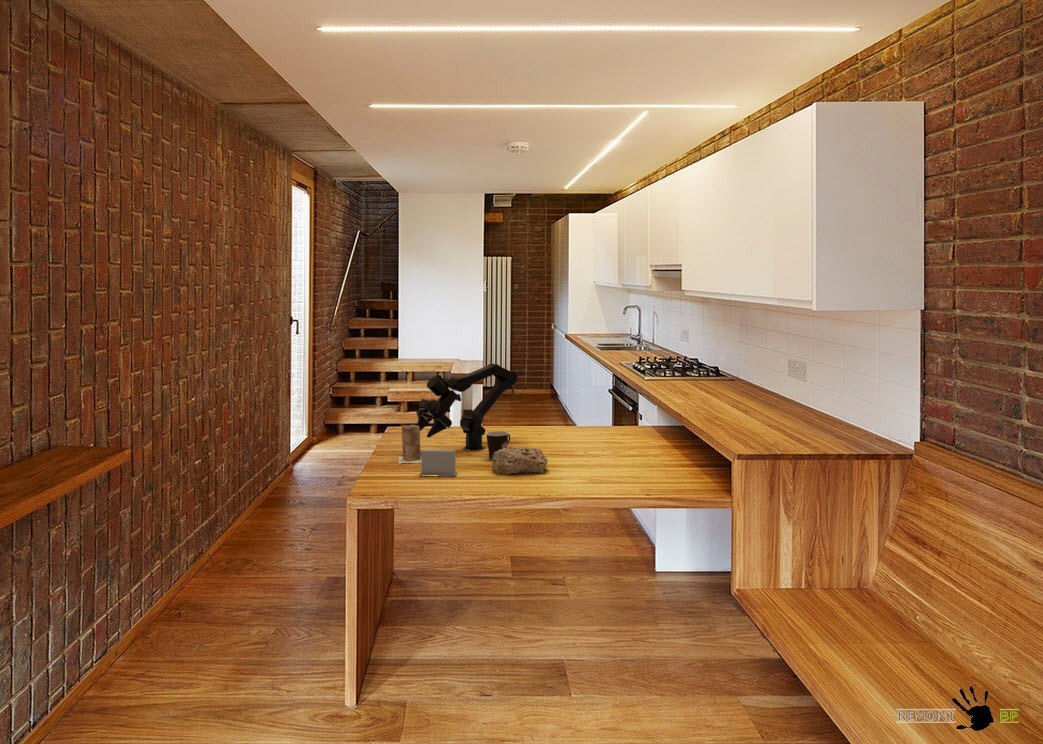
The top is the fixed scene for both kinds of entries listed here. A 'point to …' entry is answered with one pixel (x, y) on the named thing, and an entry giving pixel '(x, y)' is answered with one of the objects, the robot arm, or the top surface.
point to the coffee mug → (497, 441)
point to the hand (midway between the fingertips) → (421, 434)
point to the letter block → (411, 442)
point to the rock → (518, 460)
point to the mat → (407, 461)
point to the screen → (438, 462)
